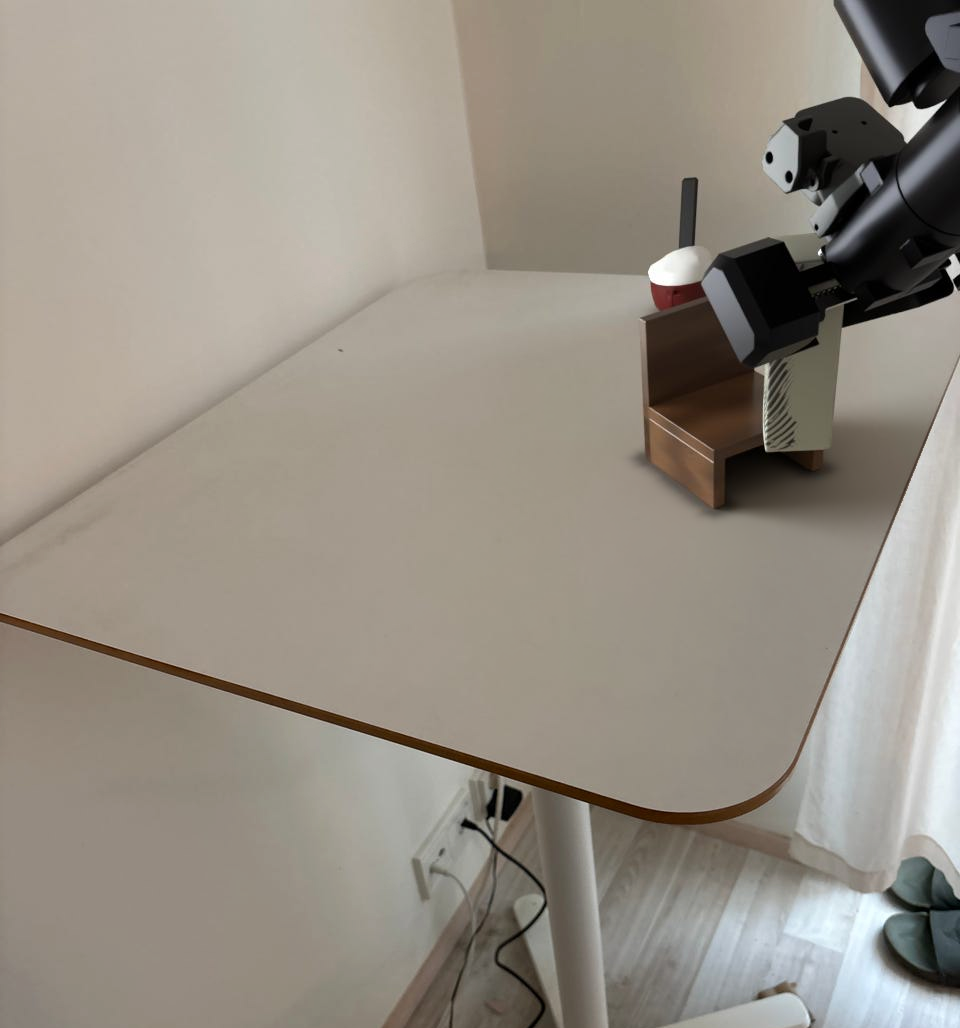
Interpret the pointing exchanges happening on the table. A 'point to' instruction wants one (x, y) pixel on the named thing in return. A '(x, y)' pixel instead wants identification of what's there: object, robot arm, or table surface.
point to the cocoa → (681, 259)
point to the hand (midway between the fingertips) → (788, 338)
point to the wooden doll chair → (700, 400)
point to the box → (804, 374)
